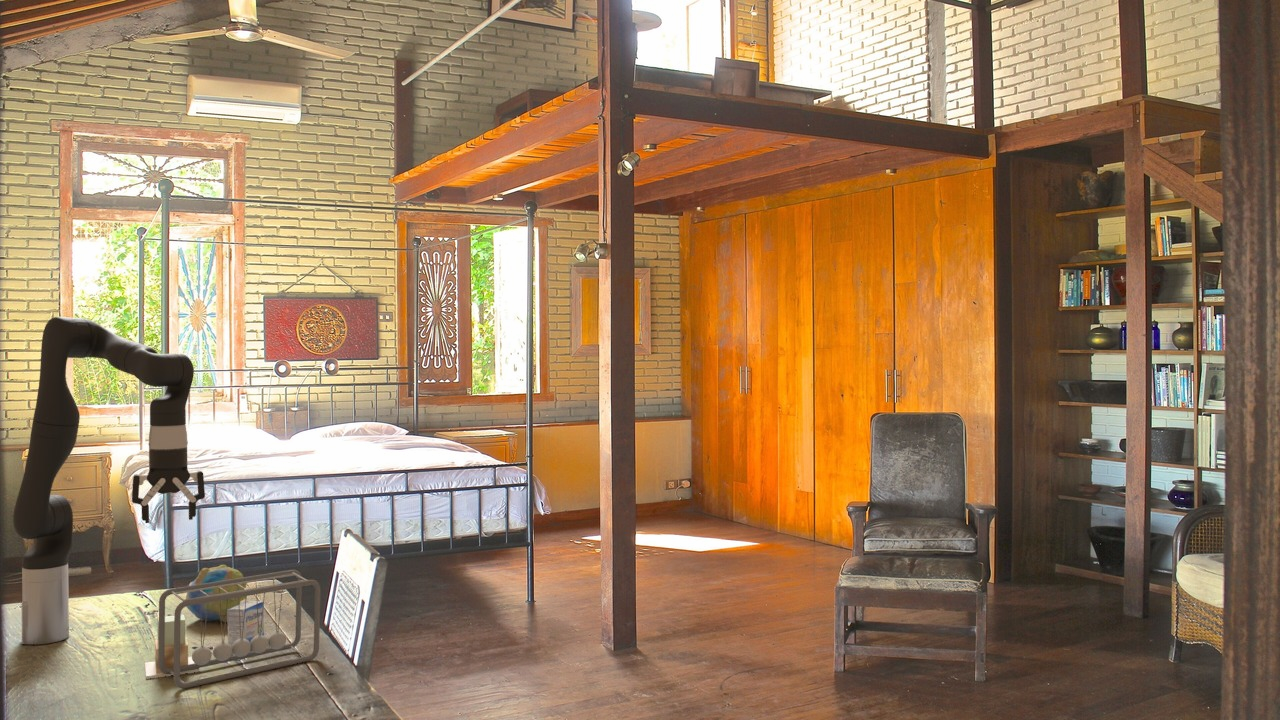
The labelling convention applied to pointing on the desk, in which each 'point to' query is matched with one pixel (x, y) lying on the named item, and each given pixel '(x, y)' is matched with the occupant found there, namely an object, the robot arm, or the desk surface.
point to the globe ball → (214, 607)
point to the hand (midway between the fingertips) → (169, 520)
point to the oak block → (172, 655)
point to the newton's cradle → (241, 645)
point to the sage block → (172, 630)
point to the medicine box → (245, 621)
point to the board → (151, 673)
